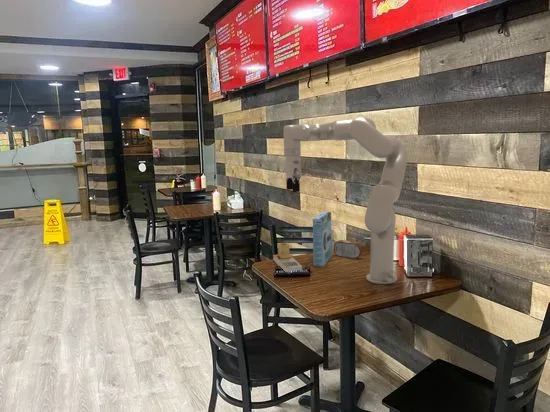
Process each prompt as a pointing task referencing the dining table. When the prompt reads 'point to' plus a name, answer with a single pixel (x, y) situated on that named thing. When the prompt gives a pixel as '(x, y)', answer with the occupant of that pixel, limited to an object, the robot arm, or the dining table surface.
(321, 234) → the gum box
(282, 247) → the nut block
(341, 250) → the tin
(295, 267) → the grey flat box
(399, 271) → the dining table surface
